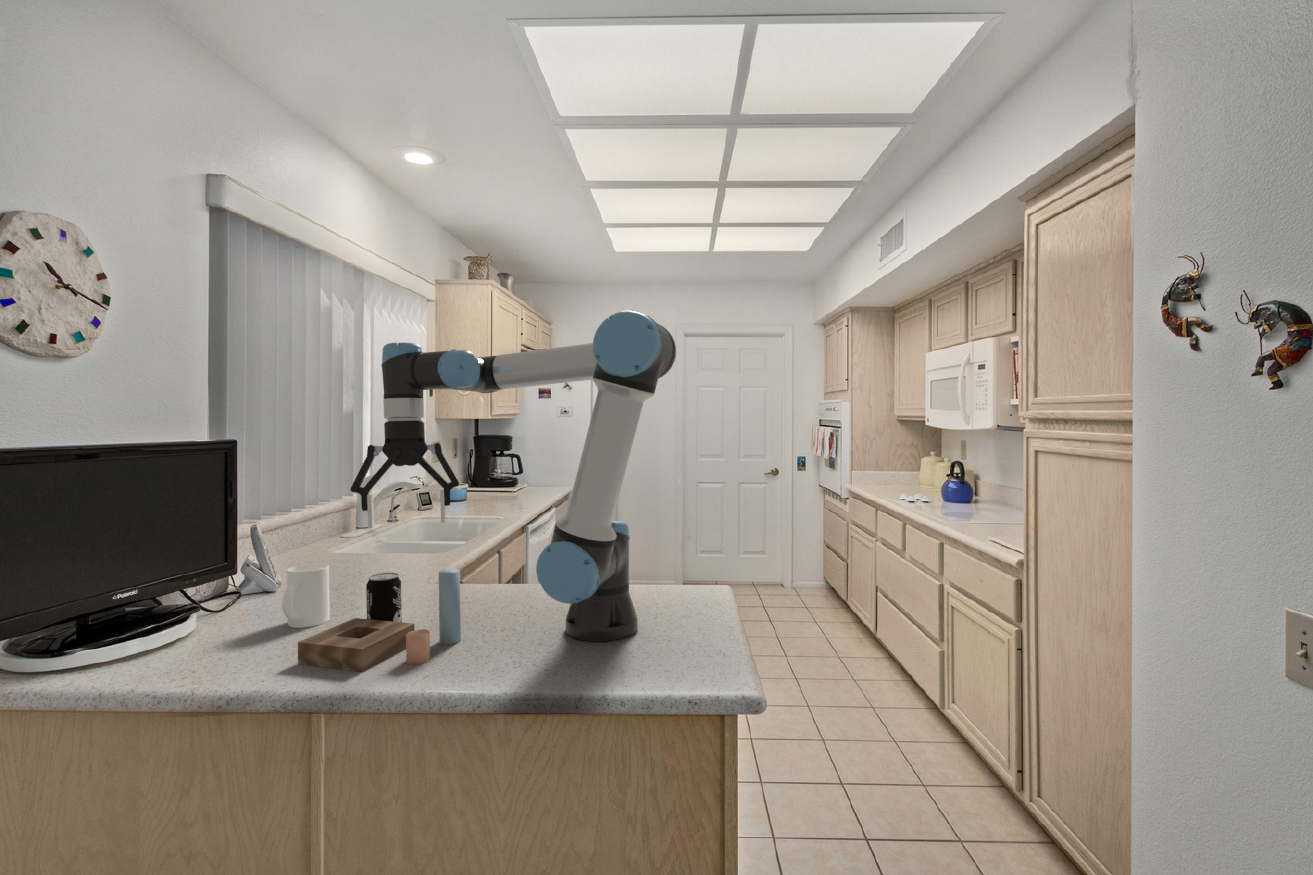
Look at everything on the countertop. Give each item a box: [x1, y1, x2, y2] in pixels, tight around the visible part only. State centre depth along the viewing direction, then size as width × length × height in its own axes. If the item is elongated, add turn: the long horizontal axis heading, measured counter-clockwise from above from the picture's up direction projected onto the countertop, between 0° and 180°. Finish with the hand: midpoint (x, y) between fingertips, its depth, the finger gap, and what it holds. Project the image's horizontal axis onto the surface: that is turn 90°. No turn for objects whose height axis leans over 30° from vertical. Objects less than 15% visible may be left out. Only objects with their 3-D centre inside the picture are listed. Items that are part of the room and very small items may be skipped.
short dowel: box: [405, 629, 431, 666], centre depth 111 cm, size 4×4×5 cm
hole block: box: [297, 617, 415, 673], centre depth 114 cm, size 14×14×4 cm
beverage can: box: [365, 572, 403, 622], centre depth 125 cm, size 7×7×12 cm
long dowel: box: [438, 568, 462, 646], centre depth 120 cm, size 4×4×14 cm
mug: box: [281, 563, 331, 629], centre depth 130 cm, size 8×12×12 cm
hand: (407, 524), depth 123 cm, fingers open, 13 cm apart
